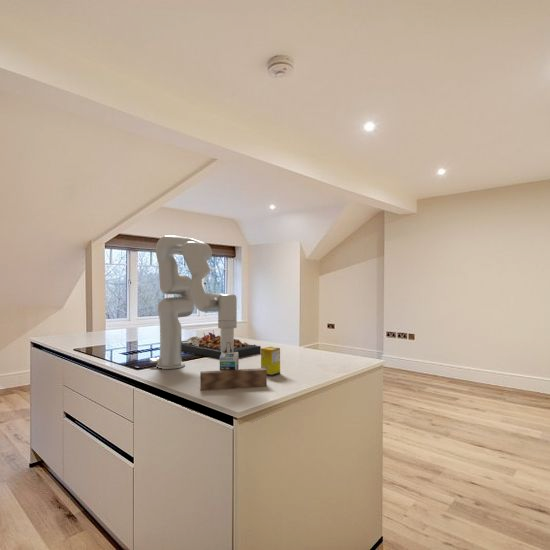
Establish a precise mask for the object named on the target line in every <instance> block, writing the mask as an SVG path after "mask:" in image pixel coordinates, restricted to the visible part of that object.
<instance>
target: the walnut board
mask: <svg viewBox="0 0 550 550" xmlns="http://www.w3.org/2000/svg"><path fill="white" fill-rule="evenodd" d="M199 372H200V376H199V377H200V380H199V385H200V387H199V388H200V391H206V390H205V389H215V390H228V389H229V390H230V389H244V388H259V387H261V388H262V387H267V386H268V385H267V383H268V382H267V381H268V379H267V377H268V376H267V370H266V369H265V368H261V367H259V368H242V369H241V368H239V370H220V369H219V370H205V371H203V370H202V371H199ZM203 389H204V390H203Z"/></svg>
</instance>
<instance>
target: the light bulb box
mask: <svg viewBox="0 0 550 550" xmlns="http://www.w3.org/2000/svg"><path fill="white" fill-rule="evenodd" d="M239 359H240V358H238V352H230V353H227V352H223V353H222V354H221V356H220V359H219V371H220V370H239V369H240V368H239V364H240V362H239Z"/></svg>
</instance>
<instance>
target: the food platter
mask: <svg viewBox="0 0 550 550" xmlns="http://www.w3.org/2000/svg"><path fill="white" fill-rule="evenodd" d="M212 332H213V333H212ZM212 332H208V333H207V334H205V331H204V332H202V333H203V336H202V337H198V336H196V335H195V336H192V337H189V338H186V340H181V352H182V351H184V352H183V353H187V352H190V353H189V354H192V353H194V354H193V355H197V354H199V356H202V355H203V357H208V358H212V359H218V360H220V356H221V354H222V353H221V351H220V334H219V335H217V336H216V334H215V332H214V330H212ZM261 348H262V346H261V345H257V344H250V343H249V344H248V343H247V342H243V343H242V341H241V340H240V339H235V338H234V348H233V352H238V358H239V359H241V358H244V357H249V356H254V355H258V354H259V355H260V354H261Z"/></svg>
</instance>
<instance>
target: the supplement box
mask: <svg viewBox="0 0 550 550" xmlns="http://www.w3.org/2000/svg"><path fill="white" fill-rule="evenodd" d="M260 368H265V369H266V370H267V377H273V376H277V375H281V348H280V347H275V346H267V347H261V353H260Z"/></svg>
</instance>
